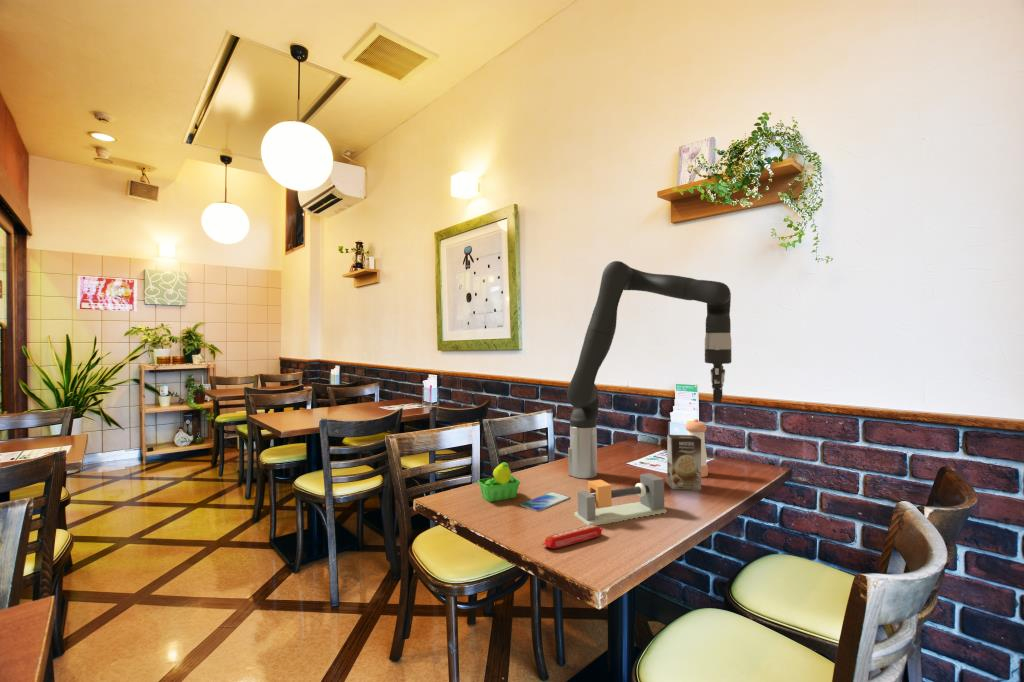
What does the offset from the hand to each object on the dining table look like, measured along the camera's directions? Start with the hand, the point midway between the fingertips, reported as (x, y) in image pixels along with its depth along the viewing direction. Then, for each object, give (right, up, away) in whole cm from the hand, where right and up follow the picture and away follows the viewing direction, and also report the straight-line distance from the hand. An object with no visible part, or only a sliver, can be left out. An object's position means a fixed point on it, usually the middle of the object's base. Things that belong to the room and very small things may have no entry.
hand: (717, 400), depth 140 cm
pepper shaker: (+1, -28, +19) cm, 34 cm away
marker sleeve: (-40, -25, -19) cm, 51 cm away
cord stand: (-34, -29, -17) cm, 47 cm away
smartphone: (-54, -30, -7) cm, 61 cm away
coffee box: (-8, -29, +6) cm, 30 cm away
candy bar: (-49, -30, -33) cm, 66 cm away
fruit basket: (-67, -29, -3) cm, 73 cm away
